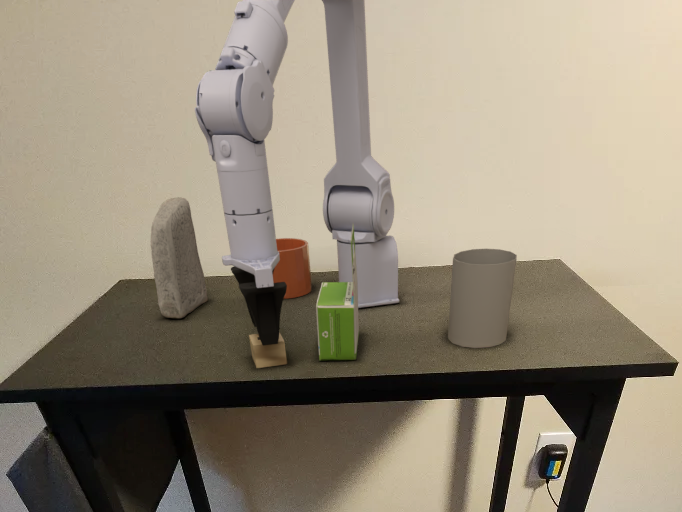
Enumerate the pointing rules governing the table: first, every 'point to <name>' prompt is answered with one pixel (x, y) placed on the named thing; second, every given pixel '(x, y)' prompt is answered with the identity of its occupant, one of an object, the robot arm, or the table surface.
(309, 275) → the cup
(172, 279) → the decorative stone
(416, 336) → the table surface
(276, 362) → the beige cube
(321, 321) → the ink box
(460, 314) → the cup
